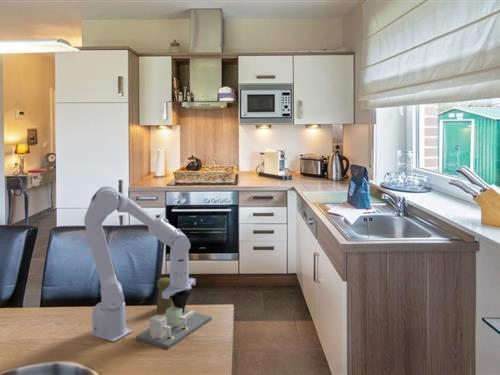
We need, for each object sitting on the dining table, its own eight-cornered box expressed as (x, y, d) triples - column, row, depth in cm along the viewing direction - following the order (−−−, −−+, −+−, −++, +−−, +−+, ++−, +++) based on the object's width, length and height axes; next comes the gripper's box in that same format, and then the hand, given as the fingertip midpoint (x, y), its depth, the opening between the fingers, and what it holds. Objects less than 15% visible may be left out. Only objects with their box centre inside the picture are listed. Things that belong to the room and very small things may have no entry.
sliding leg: (166, 324, 140) (165, 309, 139) (172, 320, 143) (172, 306, 142) (183, 328, 137) (182, 313, 136) (188, 325, 140) (188, 310, 139)
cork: (172, 313, 152) (172, 281, 150) (154, 313, 152) (154, 281, 150) (175, 306, 158) (175, 275, 156) (158, 306, 158) (157, 275, 156)
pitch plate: (136, 338, 133) (135, 318, 133) (181, 312, 153) (181, 294, 152) (168, 348, 128) (168, 327, 127) (211, 319, 147) (211, 301, 146)
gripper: (175, 280, 132) (175, 324, 134) (203, 267, 145) (203, 307, 147) (156, 276, 136) (157, 319, 138) (185, 263, 148) (185, 303, 150)
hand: (179, 313), depth 142 cm, fingers closed
